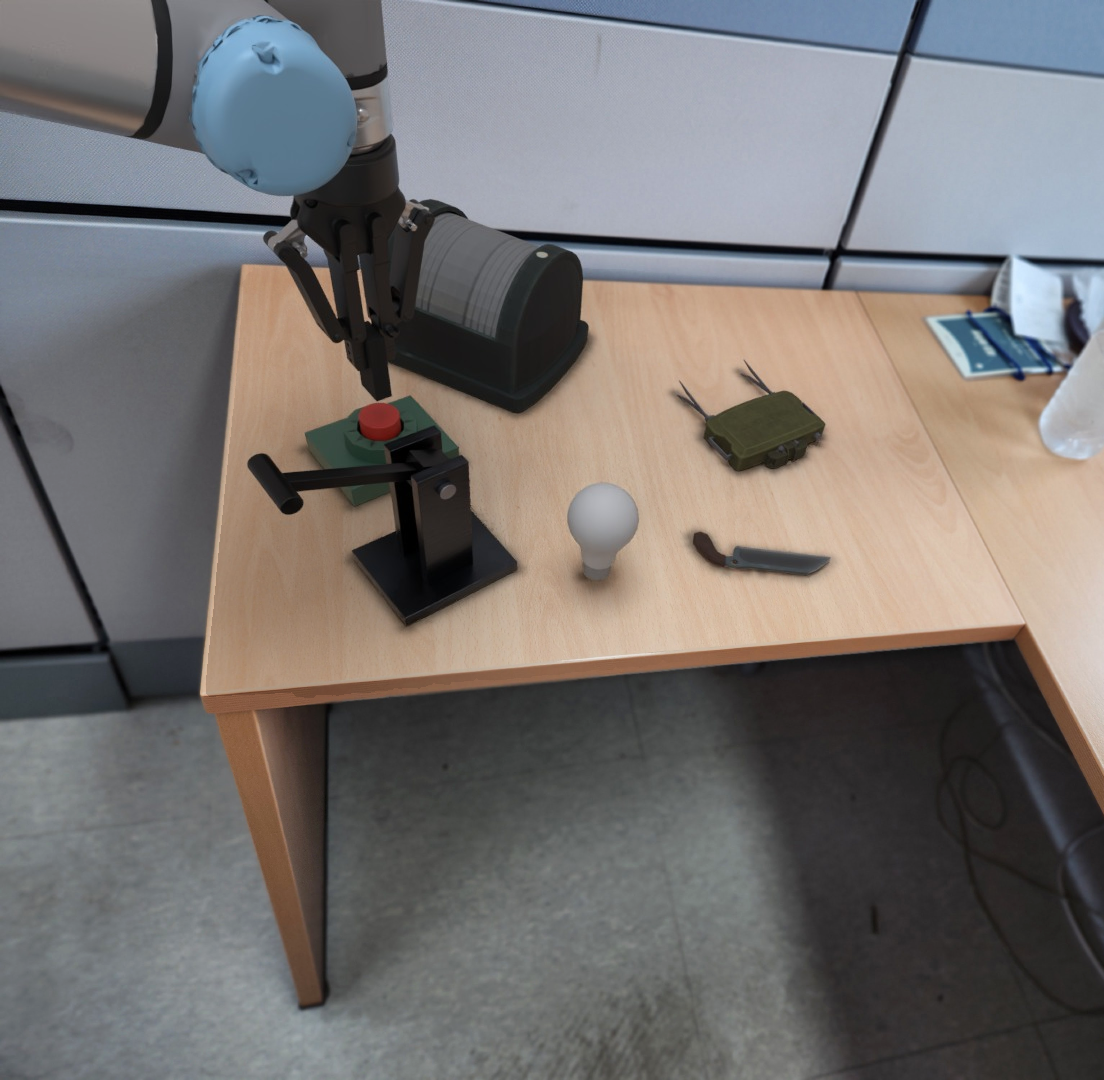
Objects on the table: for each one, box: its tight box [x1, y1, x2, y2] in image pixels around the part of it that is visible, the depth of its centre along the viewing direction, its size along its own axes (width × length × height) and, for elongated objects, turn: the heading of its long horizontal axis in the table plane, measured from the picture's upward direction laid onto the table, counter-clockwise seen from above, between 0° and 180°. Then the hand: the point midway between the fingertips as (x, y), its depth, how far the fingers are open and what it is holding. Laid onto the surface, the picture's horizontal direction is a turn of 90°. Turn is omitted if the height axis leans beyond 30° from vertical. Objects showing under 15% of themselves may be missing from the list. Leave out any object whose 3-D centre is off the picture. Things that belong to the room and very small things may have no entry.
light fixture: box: [387, 198, 590, 414], centre depth 92 cm, size 17×14×20 cm
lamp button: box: [359, 402, 401, 441], centre depth 80 cm, size 4×4×2 cm
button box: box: [304, 395, 460, 507], centre depth 82 cm, size 11×9×4 cm
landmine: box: [677, 359, 826, 472], centre depth 96 cm, size 14×3×15 cm
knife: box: [692, 531, 832, 576], centre depth 84 cm, size 14×4×1 cm, turn 90°
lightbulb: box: [566, 482, 640, 582], centre depth 75 cm, size 6×6×11 cm
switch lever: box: [246, 448, 450, 516], centre depth 63 cm, size 14×5×2 cm, turn 133°
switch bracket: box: [351, 425, 518, 627], centre depth 71 cm, size 11×9×14 cm
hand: (376, 390), depth 78 cm, fingers closed
